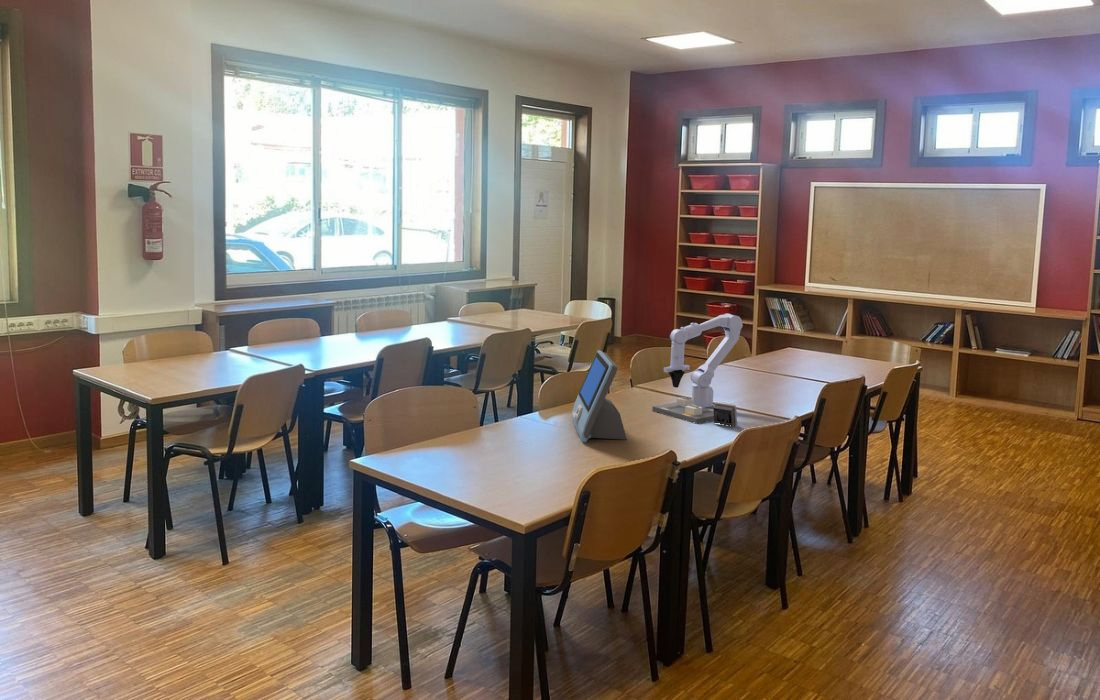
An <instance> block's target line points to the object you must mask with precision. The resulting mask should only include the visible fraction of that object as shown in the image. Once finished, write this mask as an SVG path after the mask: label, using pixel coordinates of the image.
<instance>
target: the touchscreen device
mask: <svg viewBox="0 0 1100 700" xmlns="http://www.w3.org/2000/svg"><path fill="white" fill-rule="evenodd" d="M618 369H619V368H618V365H617V364H616V363H615V362H614V361H613V360H612V358H611V357H610V356H609V355H608V354H607V353H606V352H604V351H602V350H599V349H598V350H597V351H596V354H595V355H594V357H593V360H592V362H591V365H590V366H589V370H588V371H587V373H586V376H585V378H584V380H583V383H582V384H581V387H580V389H579V392H578V394H577V397H576V400H575V401H574V404H573V408H572V411H571V418H572V419H571V420H572V422H573V424H574V427H575V429H576V432H577V435H578V436H579V438H580V440H581V442H582V443H585V444H586V443H587V441H588V440H589V439H606V440H608V439H609V440H610V439H611V440H624V441H625V440H628V439H627V434H626V432H625V431H626V430H625V428H624V424H623V421H622V416H621V413H620V412H619V410H618V409H617V407H616V405H615V404H614V403H613V402H612V400H611V399H608V398H607V397H606V396H607V394H608V392H609V390H610V387H611V385H612V383H613V381H614V379H615V377H616V374H617V372H618Z"/></svg>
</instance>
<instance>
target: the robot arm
mask: <svg viewBox="0 0 1100 700" xmlns="http://www.w3.org/2000/svg"><path fill="white" fill-rule="evenodd" d="M717 327H722V328H723V330H724V335H725V337H723V339H722V340H721V342H720V343H719V344H718V346H717V347H716V348H715V349H714V351H713V352H712V353H711V355H710V356H709V357H708V359H706V361H705V362H704V363H703V364H701V365H700V366H698V367H697V368H696V369H695V370H693V371H692V372H691V374H690V380H691V382H692V384H691V386H692V387H691V399H693V405H696V406H700V407H704V408H710V407H711V408H712V407H714V389H713V387H712V386H711V384H712V379H713V378H714V377H715V371H716V370H717V368H718V367H719V365H720V364H721V363H722V362H723V361H724V359H725V358H726V357H727V355H728V354H729V353H730V351H731V350H732V349H733V347H734V346H735V345H736V344H737V342H738V341H739V339H740V334H741V331H742V328H743V327H744V325H743V321H742V318H741V317H740V316H738V315H734V314H731V313H724V314H719V315H718V316H716V317H713V318H711V319H708V320H707V321H704V322H702V323H700V324H699V323H697V322H690V324H689V325H686V326H681V327H680V328H679V329H678V328H675V329H673V330H672V331H671V333H670V334H669V339H670V340H671V348H670V365H669V366H666V367H665V366H664V367H663V373H667V374H668V375H669V376H670V379H671V382H672V387H673V388H679V386H680V383H681V380H682V379H683V376H684V375H685V371H686V370H687V371H689V370H690V367H691V365H689V364H684V361H685V345H686V342H687V341H688V340H691V339H693V338H695V337H699V336H701V335H702V333H703V332H705V331H707V330H711V329H714V328H717Z"/></svg>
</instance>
